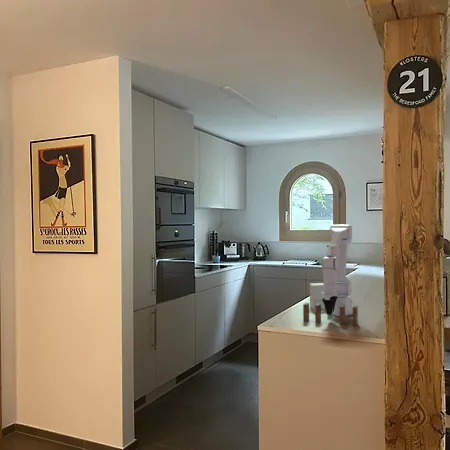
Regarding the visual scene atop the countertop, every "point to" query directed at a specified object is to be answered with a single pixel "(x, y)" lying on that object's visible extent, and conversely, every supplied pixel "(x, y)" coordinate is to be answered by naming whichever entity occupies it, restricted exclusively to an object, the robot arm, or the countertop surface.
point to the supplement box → (316, 295)
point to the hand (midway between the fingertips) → (330, 313)
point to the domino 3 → (330, 316)
